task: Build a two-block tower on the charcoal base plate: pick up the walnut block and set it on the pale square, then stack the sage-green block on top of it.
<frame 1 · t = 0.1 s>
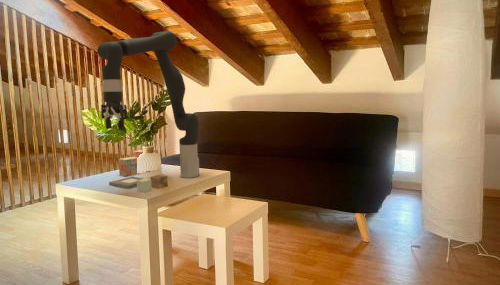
hand: (114, 129, 167), 29 cm above the table, tool pointing down, fingers open, 8 cm apart
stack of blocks: (139, 173, 218), on the table
walnut block: (159, 186, 187), on the table
base plate: (130, 183, 192), on the table
sage block: (144, 190, 179), on the table
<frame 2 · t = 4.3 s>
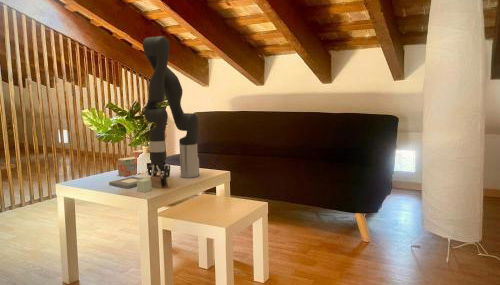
hand: (159, 185, 187), 1 cm above the table, tool pointing down, fingers closed on walnut block, 5 cm apart
walnut block: (159, 186, 187), on the table, touching gripper
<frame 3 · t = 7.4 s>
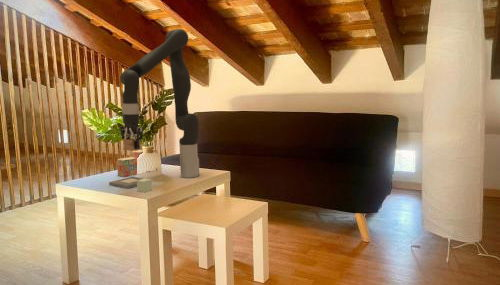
hand: (132, 148, 189), 18 cm above the table, tool pointing down, fingers closed on walnut block, 5 cm apart
walnut block: (132, 149, 189), point 17 cm above the table, touching gripper
when the fingers open (3 cm above the table, at t = 10.9 s): walnut block drops 1 cm, resting on base plate.
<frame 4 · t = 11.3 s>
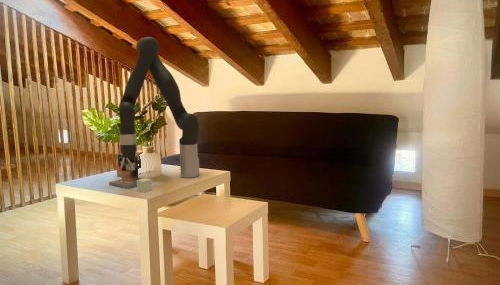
hand: (130, 176, 192), 4 cm above the table, tool pointing down, fingers open, 8 cm apart
walnut block: (130, 180, 192), point 2 cm above the table, touching base plate
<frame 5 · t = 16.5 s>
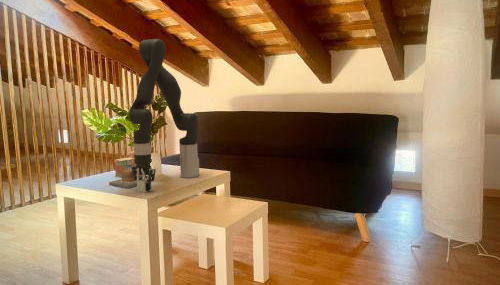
hand: (144, 189, 179), 0 cm above the table, tool pointing down, fingers closed on sage block, 4 cm apart
sage block: (144, 190, 179), on the table, touching gripper
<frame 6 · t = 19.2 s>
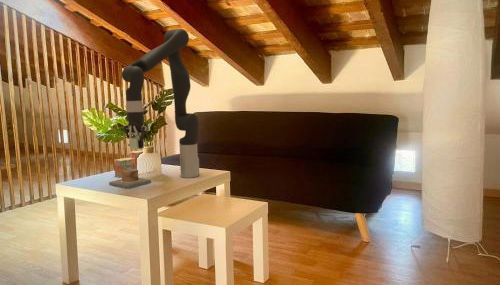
hand: (137, 147, 182), 19 cm above the table, tool pointing down, fingers closed on sage block, 4 cm apart
sage block: (137, 148, 182), point 19 cm above the table, touching gripper
when the fingers open (8 cm above the table, at t = 22.4 s): sage block drops 1 cm, resting on walnut block.
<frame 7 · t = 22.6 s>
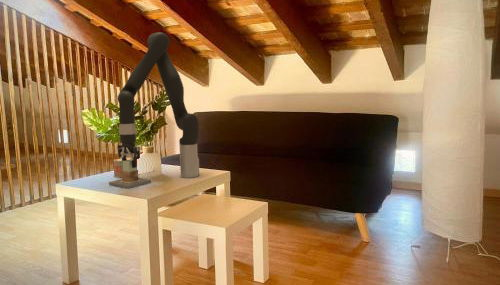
hand: (129, 166, 191), 8 cm above the table, tool pointing down, fingers open, 6 cm apart
walnut block: (130, 180, 192), point 2 cm above the table, touching base plate, sage block
sage block: (129, 170, 191), point 7 cm above the table, touching walnut block
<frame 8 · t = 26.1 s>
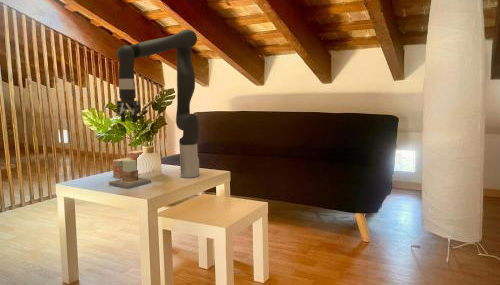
hand: (129, 122, 191), 30 cm above the table, tool pointing down, fingers open, 8 cm apart
at the end: walnut block 0.1 cm off-centre on the base plate, point 1.6 cm above the base plate's base; sage block 0.1 cm off-centre on the base plate, point 6.6 cm above the base plate's base; sage block tilted 0° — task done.
